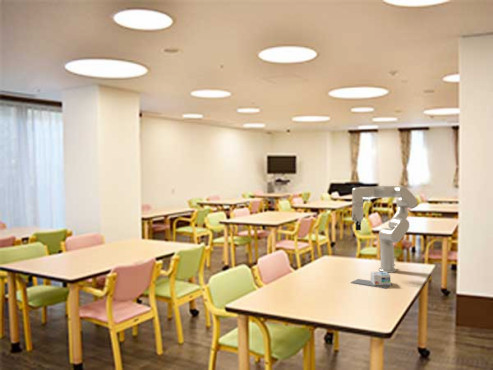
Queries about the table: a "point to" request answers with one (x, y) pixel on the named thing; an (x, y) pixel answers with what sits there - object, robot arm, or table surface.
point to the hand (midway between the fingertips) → (358, 230)
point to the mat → (369, 283)
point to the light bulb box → (380, 278)
